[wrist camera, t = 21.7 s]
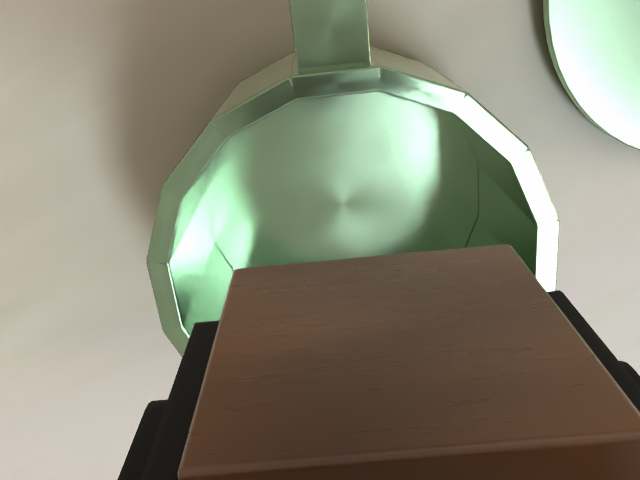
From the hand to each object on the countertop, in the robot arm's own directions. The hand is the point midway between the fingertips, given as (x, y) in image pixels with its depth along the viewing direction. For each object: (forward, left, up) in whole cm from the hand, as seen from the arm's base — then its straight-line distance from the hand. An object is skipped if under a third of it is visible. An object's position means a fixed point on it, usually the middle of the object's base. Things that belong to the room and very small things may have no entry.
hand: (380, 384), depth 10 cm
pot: (-1, +3, -19) cm, 20 cm away
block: (0, 0, 0) cm, 0 cm away
